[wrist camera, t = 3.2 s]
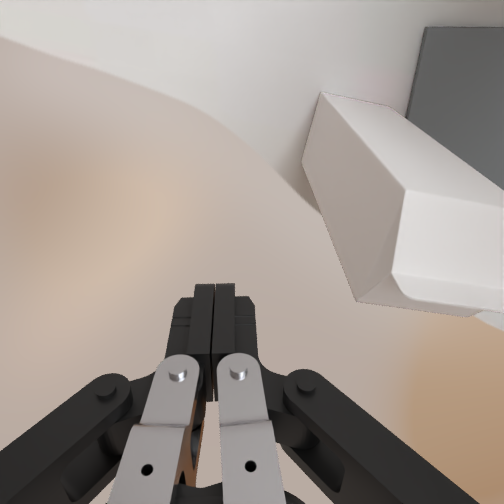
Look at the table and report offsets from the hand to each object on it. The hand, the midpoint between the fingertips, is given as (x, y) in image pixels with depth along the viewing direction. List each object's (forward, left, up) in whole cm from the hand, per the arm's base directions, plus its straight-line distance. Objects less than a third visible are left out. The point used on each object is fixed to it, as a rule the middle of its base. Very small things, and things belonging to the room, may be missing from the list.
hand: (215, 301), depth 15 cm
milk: (0, +10, -22) cm, 24 cm away
